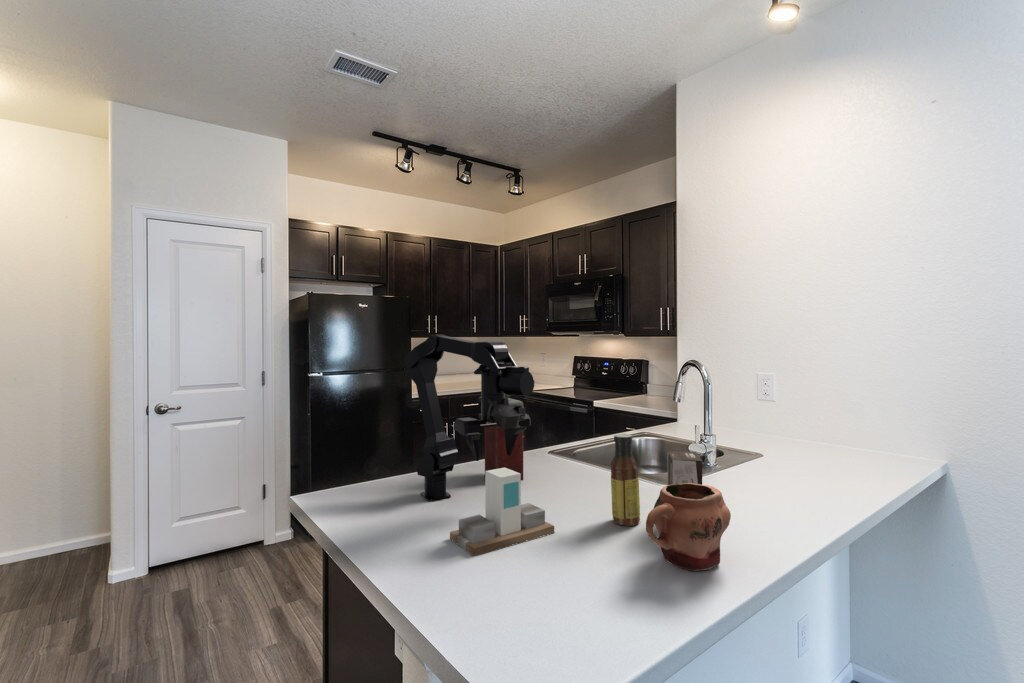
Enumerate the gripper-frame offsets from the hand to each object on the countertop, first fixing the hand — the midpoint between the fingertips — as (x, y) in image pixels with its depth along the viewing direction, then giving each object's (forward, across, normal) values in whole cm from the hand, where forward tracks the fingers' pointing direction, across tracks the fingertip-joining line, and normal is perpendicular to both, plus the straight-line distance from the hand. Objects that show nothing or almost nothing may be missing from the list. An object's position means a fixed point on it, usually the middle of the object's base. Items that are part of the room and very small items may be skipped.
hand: (493, 458), depth 120 cm
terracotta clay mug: (+13, +15, -44) cm, 48 cm away
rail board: (+13, -6, -13) cm, 20 cm away
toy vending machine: (+13, +18, +24) cm, 33 cm away
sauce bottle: (+13, +21, -23) cm, 34 cm away
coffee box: (+13, +29, -33) cm, 46 cm away
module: (+12, -6, -14) cm, 19 cm away
